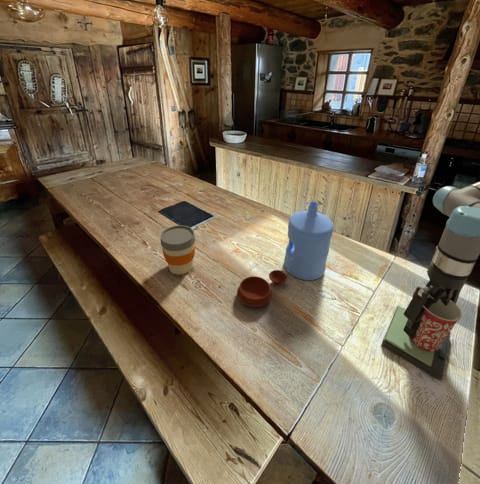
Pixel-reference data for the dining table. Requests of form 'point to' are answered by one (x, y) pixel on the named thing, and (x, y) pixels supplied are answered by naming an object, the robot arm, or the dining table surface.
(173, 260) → the reusable coffee cup
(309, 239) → the water jug
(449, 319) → the mug
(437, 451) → the dining table surface
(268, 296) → the pottery
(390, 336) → the scale
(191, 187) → the dining table surface
